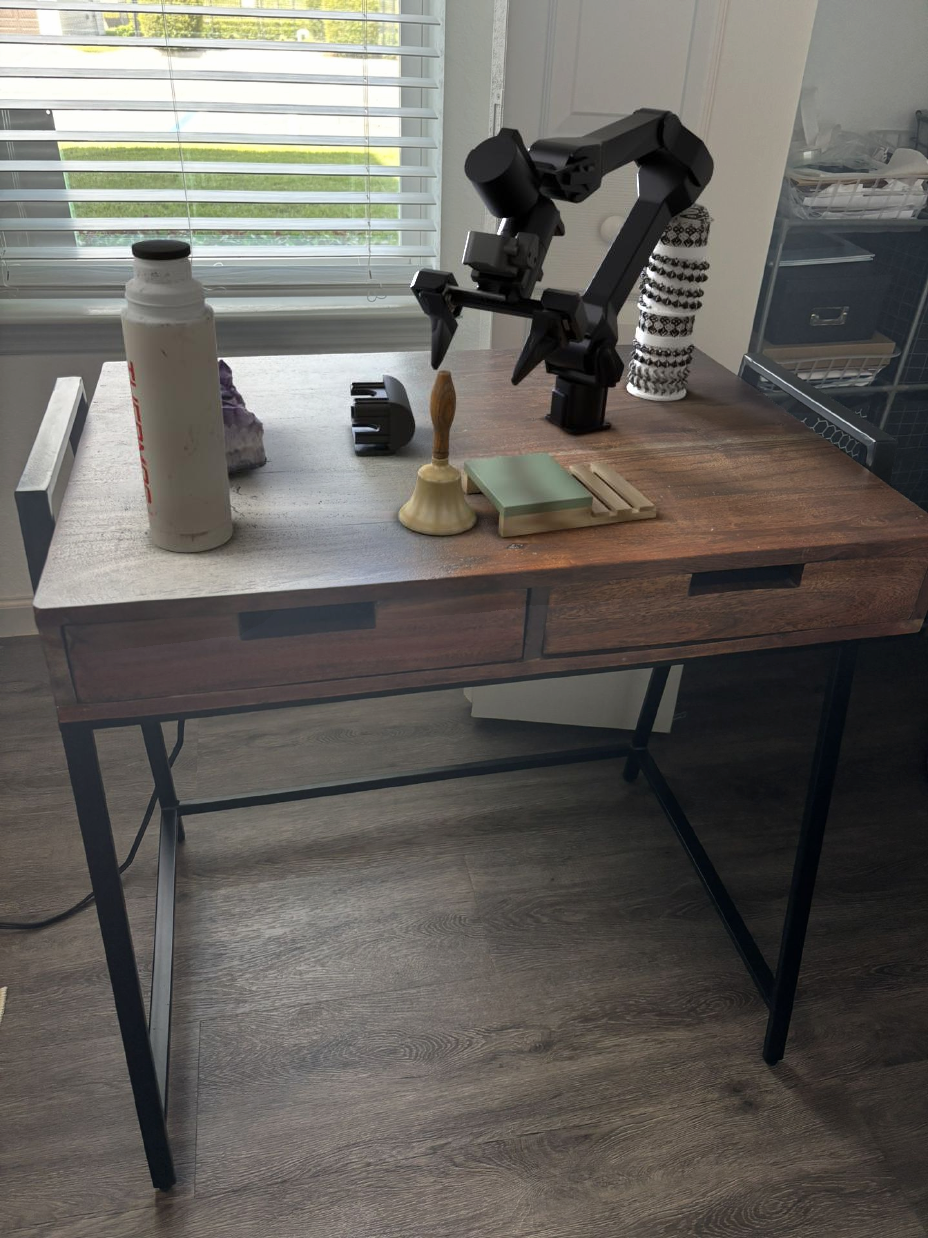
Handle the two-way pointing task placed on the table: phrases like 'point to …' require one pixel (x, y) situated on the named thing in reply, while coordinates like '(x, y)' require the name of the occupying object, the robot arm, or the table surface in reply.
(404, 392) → the end cap
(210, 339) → the thermos bottle
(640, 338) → the decorative candle
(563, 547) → the table surface
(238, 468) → the geode
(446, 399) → the hand bell
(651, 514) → the rack
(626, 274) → the robot arm
